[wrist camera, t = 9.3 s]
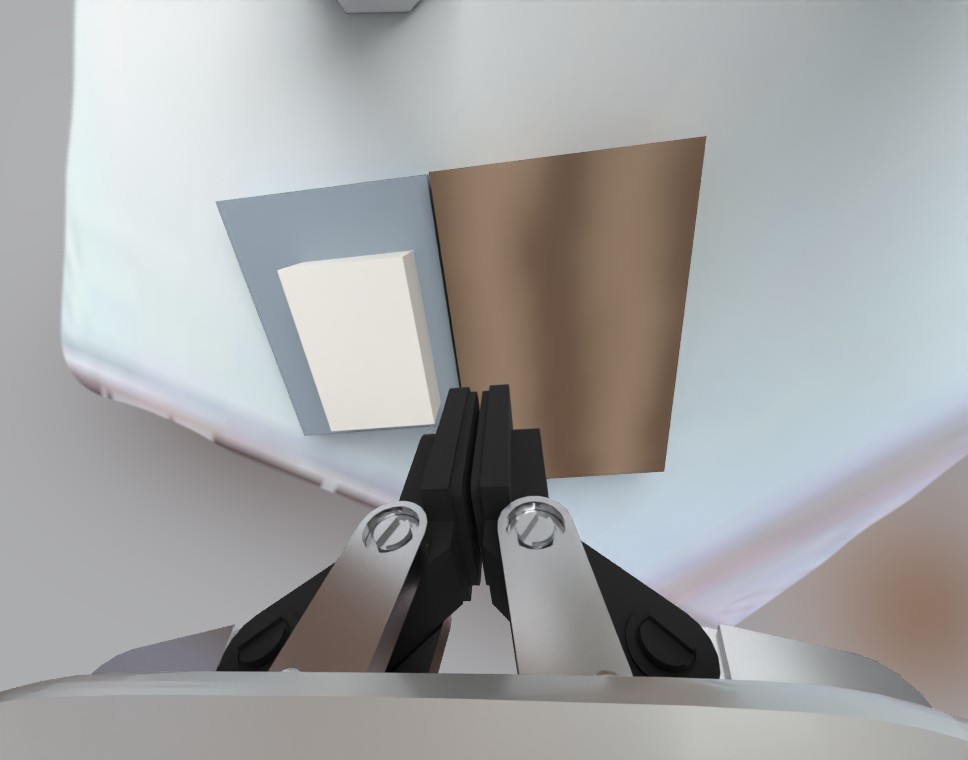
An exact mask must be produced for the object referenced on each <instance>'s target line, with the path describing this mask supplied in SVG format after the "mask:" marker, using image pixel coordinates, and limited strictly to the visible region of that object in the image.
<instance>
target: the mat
mask: <svg viewBox="0 0 968 760" xmlns="http://www.w3.org/2000/svg"><path fill="white" fill-rule="evenodd" d="M216 204H217V207H218V210H219V212H220V215H221V217H222V220H223V223H224V225H225V228H226V231H227V233H228V236H229V238H230V241H231V244H232V246H233V249H234V252H235V254H236V257H237V260H238V262H239V265H240V267H241V270H242V273H243V275H244V278H245V281H246V283H247V286H248V288H249V291H250V294H251V296H252V299H253V302H254V304H255V307H256V309H257V312H258V315H259V317H260V320H261V323H262V325H263V328H264V330H265V333H266V336H267V338H268V341H269V344H270V346H271V349H272V351H273V354H274V357H275V359H276V362H277V365H278V367H279V370H280V372H281V375H282V378H283V380H284V383H285V386H286V388H287V391H288V393H289V396H290V399H291V401H292V404H293V407H294V409H295V412H296V415H297V417H298V420H299V422H300V425H301V428H302V430H303V433H304V436H306V435H320V434H333V433H347V432H360V431H374V430H387V429H401V428H414V427H428V426H438V425H439V422H440V419H441V415H442V412H443V409H444V405H445V402H446V398H447V395H448V392H449V389H450V388H460V387H461V380H460V374H459V367H458V361H457V354H456V347H455V341H454V334H453V328H452V321H451V314H450V308H449V301H448V295H447V288H446V282H445V275H444V268H443V262H442V255H441V249H440V242H439V235H438V229H437V222H436V216H435V209H434V202H433V196H432V189H431V183H430V176H429V175H418V176H411V177H403V178H395V179H388V180H380V181H372V182H364V183H357V184H349V185H341V186H333V187H326V188H318V189H310V190H302V191H295V192H287V193H279V194H271V195H264V196H256V197H248V198H240V199H233V200H225V201H217V202H216ZM411 250H414V255H415V261H416V266H417V272H418V278H419V283H420V289H421V294H422V300H423V306H424V311H425V317H426V322H427V328H428V334H429V339H430V345H431V350H432V356H433V362H434V367H435V373H436V378H437V384H438V390H439V395H440V401H441V403H440V407H439V410H438V414H437V417H436V420H435V424H427V425H413V426H399V427H386V428H372V429H358V430H344V431H331V429H330V426H329V423H328V420H327V417H326V414H325V411H324V408H323V405H322V402H321V399H320V396H319V393H318V390H317V387H316V384H315V381H314V378H313V375H312V372H311V369H310V366H309V363H308V361H307V358H306V355H305V352H304V349H303V346H302V343H301V340H300V337H299V334H298V331H297V328H296V325H295V322H294V319H293V316H292V313H291V310H290V307H289V304H288V301H287V298H286V295H285V292H284V289H283V286H282V283H281V280H280V277H279V275H278V272H277V270H280V269H283V268H286V267H289V266H293V265H296V264H299V263H302V262H311V261H320V260H329V259H338V258H347V257H356V256H366V255H375V254H384V253H393V252H402V251H411Z"/></svg>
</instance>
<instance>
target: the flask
mask: <svg viewBox="0 0 968 760" xmlns="http://www.w3.org/2000/svg"><path fill="white" fill-rule="evenodd" d="M337 1H338V2H339V4H340V5H341V6H342V8H343V9H344V11H345V12H346V13H368V12H406V11H411V9H412V8H413V7H414V6H415V5H416V4H417V3H418V2H419V1H420V0H337Z"/></svg>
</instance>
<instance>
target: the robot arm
mask: <svg viewBox="0 0 968 760" xmlns="http://www.w3.org/2000/svg"><path fill="white" fill-rule="evenodd" d="M482 562H483V568H484V574H485V580H486V584H487V585H489V586H490V593H491V598H492V604H493V605H494V606H495V607H496V608H497V609H498V610H499V611H500V612H501V613H502V614H503V615H504V616H505V617H506V618H507V619H508V620H509V621H510V626H511V633H512V640H513V646H514V653H515V660H516V667H517V674H518V675H516V674H514V675H512V674H442V673H441V674H440V673H438V671H439V668H440V664H441V661H442V657H443V653H444V650H445V646H446V642H447V639H448V635H449V631H450V627H451V614H452V613H453V612H454V611H455V610H457V609H458V608H459V607H460V606H461V605H462V604H463V601H471V593H472V585H480V581H481V568H482ZM0 760H968V720H967V719H964V718H961V717H958V716H955V715H952V714H949V713H946V712H942V711H939V710H936V709H933V708H932V707H931V705H930V704H929V703H928V702H927V700H926V699H925V698H924V696H923V695H922V694H921V693H920V692H919V691H917V689H915V688H914V687H913V686H912V685H911V684H910V683H908V682H907V681H906V680H905V679H904V678H903V677H902V676H901V675H899V674H897V673H896V672H894V671H893V670H891V669H889V668H887V667H886V666H884V665H883V664H881V663H879V662H878V661H876V660H873V659H870V658H867V657H864V656H862V655H859V654H856V653H852V652H847V651H843V650H838V649H833V648H829V647H824V646H820V645H815V644H811V643H806V642H801V641H796V640H792V639H788V638H783V637H778V636H774V635H769V634H765V633H760V632H755V631H751V630H746V629H742V628H736V627H732V626H728V625H723V624H719V626H718V629H712V628H708V627H703V626H700V624H698V623H697V622H696V621H695V620H694V619H693V618H691V617H690V616H689V615H688V614H687V613H685V612H684V611H683V610H681V609H680V608H678V607H677V606H675V605H674V604H672V603H671V602H670V601H668V600H667V599H665V598H664V597H662V596H661V595H659V594H658V593H656V592H655V591H654V590H652V589H651V588H649V587H648V586H646V585H645V584H643V583H642V582H640V581H639V580H638V579H636V578H635V577H633V576H632V575H630V574H629V573H627V572H626V571H624V570H623V569H622V568H620V567H619V566H617V565H616V564H614V563H613V562H611V561H610V560H609V559H607V558H606V557H604V556H603V555H601V554H600V553H598V552H597V551H595V550H594V549H593V548H591V547H590V546H588V545H587V544H585V543H584V542H582V541H581V540H580V537H579V535H578V532H577V529H576V527H575V524H574V522H573V519H572V517H571V515H570V514H569V512H568V510H567V509H566V508H565V507H563V506H562V505H561V504H560V503H559V502H556V501H554V500H552V499H550V498H549V497H548V489H547V481H546V473H545V465H544V457H543V450H542V442H541V434H540V428H532V429H515V430H513V420H512V409H511V398H510V388H509V384H503V385H490V387H489V391H482V398H481V406H480V407H479V399H478V393H477V391H475V392H471V391H470V388H469V387H460V388H450V389H449V392H448V395H447V398H446V402H445V405H444V409H443V412H442V415H441V419H440V422H439V425H438V429H437V432H436V434H426V435H423V436H422V437H421V440H420V442H419V445H418V448H417V451H416V454H415V457H414V460H413V462H412V465H411V468H410V471H409V474H408V477H407V480H406V482H405V485H404V488H403V491H402V494H401V497H400V500H399V501H395V502H391V503H387V504H384V505H382V506H380V507H378V508H376V509H374V510H373V511H372V512H370V513H369V514H368V515H367V516H366V517H365V518H364V519H363V520H362V521H361V523H360V524H359V525H358V527H357V529H356V530H355V532H354V533H353V535H352V537H351V538H350V540H349V541H348V543H347V545H346V546H345V548H344V549H343V551H342V553H341V554H340V556H339V558H338V559H337V561H336V562H335V563H334V564H332V565H331V566H329V567H328V568H326V569H325V570H323V571H322V572H320V573H319V574H317V575H316V576H314V577H313V578H311V579H310V580H308V581H307V582H305V583H304V584H302V585H301V586H299V587H298V588H296V589H295V590H293V591H292V592H290V593H289V594H287V595H286V596H284V597H283V598H281V599H280V600H279V601H277V602H275V603H274V604H273V605H271V606H270V607H268V608H267V609H265V610H264V611H262V612H261V613H259V614H258V615H256V616H255V617H254V618H253V619H251V620H250V621H249V622H248V623H246V624H245V625H244V626H243V627H242V628H241V629H240V630H238V629H237V627H236V626H235V625H231V626H227V627H223V628H219V629H214V630H210V631H206V632H202V633H198V634H194V635H190V636H185V637H182V638H177V639H173V640H169V641H165V642H160V643H156V644H152V645H148V646H144V647H140V648H136V649H132V650H130V651H127V652H125V653H122V654H119V655H117V656H115V657H114V658H112V659H111V660H109V661H108V662H106V663H104V664H103V665H101V666H100V667H99V668H98V669H96V670H95V671H94V672H93V673H92V674H91V675H77V676H69V677H63V678H57V679H51V680H45V681H40V682H36V683H32V684H28V685H24V686H20V687H16V688H12V689H9V690H5V691H1V692H0Z"/></svg>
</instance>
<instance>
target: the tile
mask: <svg viewBox="0 0 968 760" xmlns="http://www.w3.org/2000/svg"><path fill="white" fill-rule="evenodd" d="M277 272H278V275H279V277H280V280H281V283H282V286H283V289H284V292H285V295H286V298H287V301H288V304H289V307H290V310H291V313H292V316H293V319H294V322H295V325H296V328H297V331H298V334H299V337H300V340H301V343H302V346H303V349H304V352H305V355H306V358H307V361H308V363H309V366H310V369H311V372H312V375H313V378H314V381H315V384H316V387H317V390H318V393H319V396H320V399H321V402H322V405H323V408H324V411H325V414H326V417H327V420H328V423H329V426H330V429H331V431H344V430H358V429H372V428H386V427H399V426H413V425H427V424H435V420H436V417H437V414H438V410H439V407H440V403H441V401H440V395H439V390H438V384H437V378H436V373H435V367H434V362H433V356H432V350H431V345H430V339H429V334H428V328H427V322H426V317H425V311H424V306H423V300H422V294H421V289H420V283H419V278H418V272H417V266H416V261H415V255H414V250H411V251H402V252H393V253H384V254H375V255H366V256H356V257H347V258H338V259H329V260H320V261H311V262H302V263H299V264H296V265H293V266H289V267H286V268H283V269H280V270H277Z"/></svg>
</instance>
